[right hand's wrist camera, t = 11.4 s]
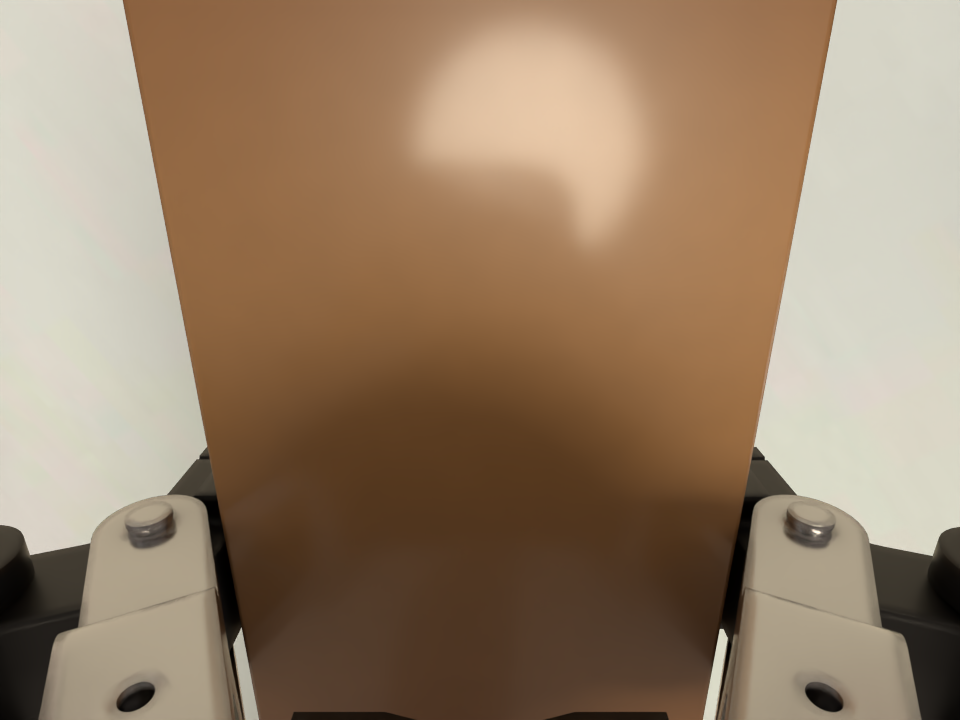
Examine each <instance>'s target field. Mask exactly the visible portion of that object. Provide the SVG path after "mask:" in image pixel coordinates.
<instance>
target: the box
mask: <svg viewBox="0 0 960 720" xmlns="http://www.w3.org/2000/svg"><path fill="white" fill-rule="evenodd" d="M836 3H837V0H123V4H124V9H125V14H126V20H127V25H128V30H129V35H130V41H131V46H132V51H133V56H134V62H135V67H136V72H137V78H138V83H139V88H140V93H141V99H142V104H143V109H144V114H145V120H146V125H147V130H148V136H149V141H150V146H151V151H152V157H153V162H154V167H155V172H156V178H157V183H158V188H159V194H160V199H161V204H162V209H163V215H164V220H165V225H166V230H167V236H168V241H169V246H170V252H171V257H172V262H173V267H174V273H175V278H176V283H177V288H178V294H179V299H180V304H181V310H182V315H183V320H184V325H185V331H186V336H187V341H188V346H189V352H190V357H191V362H192V368H193V373H194V378H195V383H196V389H197V394H198V399H199V404H200V410H201V415H202V420H203V426H204V431H205V436H206V441H207V447H208V452H209V457H210V462H211V468H212V473H213V478H214V484H215V489H216V494H217V499H218V505H219V510H220V515H221V520H222V526H223V531H224V536H225V542H226V547H227V552H228V557H229V563H230V568H231V573H232V578H233V584H234V589H235V594H236V600H237V605H238V610H239V615H240V621H241V626H242V631H243V636H244V642H245V647H246V652H247V657H248V663H249V668H250V673H251V679H252V684H253V689H254V694H255V700H256V705H257V710H258V715H259V720H291V718H292V715H293V712H388V713H392V714H396V715H400V716H403V717H407V718H411V719H415V720H545V719H549V718H553V717H557V716H560V715H564V714H568V713H572V712H667V715H668V718H669V720H703V715H704V710H705V705H706V699H707V694H708V689H709V683H710V678H711V673H712V667H713V662H714V656H715V651H716V646H717V640H718V635H719V630H720V624H721V619H722V614H723V608H724V603H725V598H726V592H727V587H728V582H729V576H730V571H731V565H732V560H733V555H734V549H735V544H736V539H737V533H738V528H739V523H740V517H741V512H742V507H743V501H744V496H745V491H746V485H747V480H748V474H749V469H750V464H751V458H752V453H753V448H754V442H755V437H756V432H757V426H758V421H759V416H760V410H761V405H762V400H763V394H764V389H765V383H766V378H767V373H768V367H769V362H770V357H771V351H772V346H773V341H774V335H775V330H776V325H777V319H778V314H779V309H780V303H781V298H782V292H783V287H784V282H785V276H786V271H787V266H788V260H789V255H790V250H791V244H792V239H793V234H794V228H795V223H796V218H797V212H798V207H799V202H800V196H801V191H802V185H803V180H804V175H805V169H806V164H807V159H808V153H809V148H810V143H811V137H812V132H813V127H814V121H815V116H816V111H817V105H818V100H819V94H820V89H821V84H822V78H823V73H824V68H825V62H826V57H827V52H828V46H829V41H830V36H831V30H832V25H833V20H834V14H835V9H836Z"/></svg>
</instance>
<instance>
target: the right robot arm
mask: <svg viewBox="0 0 960 720" xmlns="http://www.w3.org/2000/svg"><path fill="white" fill-rule="evenodd" d="M241 627H242V626H241V621H240V615H239V610H238V605H237V600H236V594H235V589H234V584H233V578H232V573H231V568H230V563H229V557H228V552H227V547H226V542H225V536H224V531H223V526H222V520H221V515H220V510H219V505H218V499H217V494H216V489H215V484H214V478H213V473H212V468H211V462H210V457H209V452H208V447H207V448H206V449H205V450H204V451H203V453H202V454H201V455H200V459H197V460H196V461H195V462H194V463H193V465H192V466H191V467H190V468H189V469H188V471H187V472H186V473H185V474H184V475H183V477H182V478H181V479H180V480H179V481H178V483H177V484H176V485H175V486H174V487H173V489H172V490H171V491H170V492H169V493H168V495H163V496H157V497H152V498H148V499H144V500H141V501H138V502H135V503H132V504H130V505H128V506H126V507H123V508H122V509H120V510H118V511H116V512H114V513H113V514H111V515H110V516H108V517H107V518H106V519H105V520H104V521H102V522H101V523H100V524H99V526H98V527H97V528H96V529H95V531H94V533H93V535H92V538H91V543H90V544H85V545H81V546H76V547H70V548H65V549H60V550H55V551H50V552H45V553H40V554H34V555H30V554H29V551H28V548H27V545H26V542H25V539H24V536H23V534H22V533H21V531H19V530H18V529H16V528H13V527H10V526H4V525H0V720H245V713H244V707H243V700H242V694H241V687H240V681H239V674H238V668H237V661H236V656H235V651H234V646H233V644H234V642H235V639H236V637H237V635H238V633H239V631H240V629H241ZM720 629H724V631H725V633H726V635H727V637H728V641H727V646H726V651H725V656H724V661H723V668H722V674H721V681H720V687H719V694H718V700H717V707H716V713H715V720H960V527H957V528H951V529H949V530H946V531H944V532H943V533H942V534H941V535H940V537H939V539H938V542H937V545H936V548H935V551H934V554H933V556H929V555H924V554H919V553H914V552H909V551H903V550H898V549H893V548H888V547H883V546H879V545H874V544H870V543H869V538H868V535H867V533H866V531H865V529H864V528H863V527H862V526H861V524H860V523H859V522H858V521H856V520H855V519H854V518H853V517H852V516H850V515H849V514H847V513H846V512H844V511H842V510H840V509H838V508H837V507H834V506H832V505H830V504H828V503H825V502H822V501H819V500H816V499H812V498H808V497H803V496H797V495H796V494H795V492H794V491H793V490H792V489H791V488H790V486H789V485H788V484H787V483H786V482H785V481H784V479H783V478H782V477H781V476H780V475H779V473H778V472H777V471H776V470H775V469H774V467H773V466H772V465H771V464H770V463H769V462H768V460H765V457H764V456H763V454H762V453H761V452H760V451H759V450H758V449H757V447H754V448H753V453H752V458H751V464H750V469H749V474H748V480H747V485H746V491H745V496H744V501H743V507H742V512H741V517H740V523H739V528H738V533H737V539H736V544H735V549H734V555H733V560H732V565H731V571H730V576H729V582H728V587H727V592H726V598H725V603H724V608H723V614H722V619H721V624H720ZM291 720H415V719H411V718H407V717H403V716H400V715H396V714H392V713H388V712H293V715H292V718H291ZM545 720H669V718H668V715H667V712H572V713H568V714H564V715H560V716H557V717H553V718H549V719H545Z"/></svg>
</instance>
